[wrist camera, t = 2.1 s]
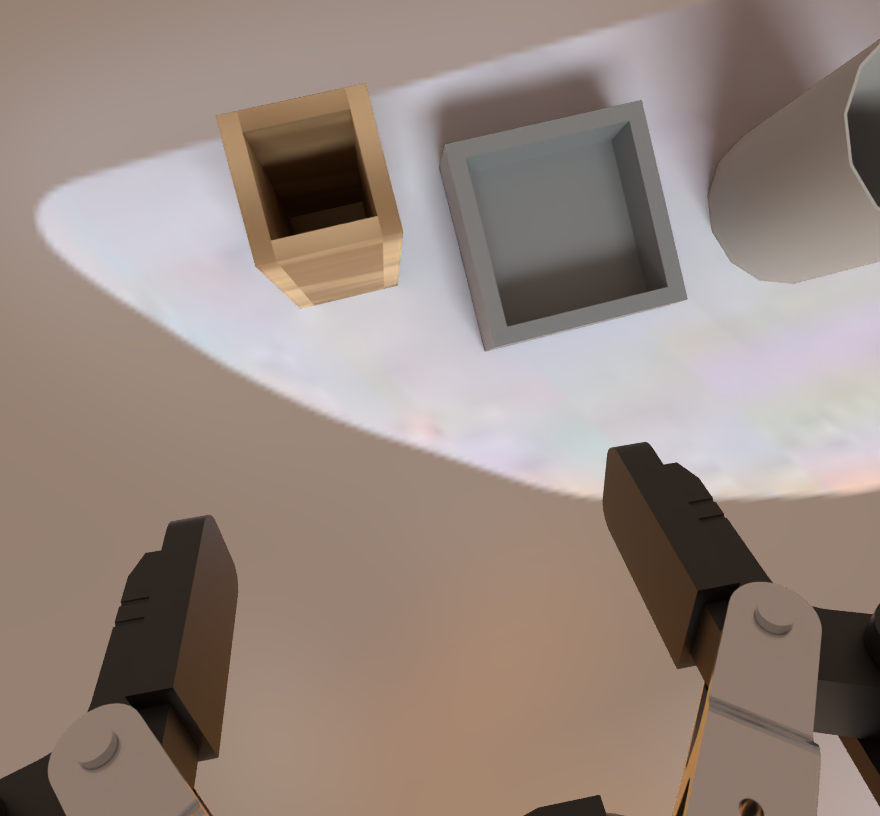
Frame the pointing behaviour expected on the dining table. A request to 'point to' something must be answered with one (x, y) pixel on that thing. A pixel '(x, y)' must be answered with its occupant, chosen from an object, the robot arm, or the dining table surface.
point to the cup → (806, 182)
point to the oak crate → (315, 195)
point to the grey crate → (561, 224)
